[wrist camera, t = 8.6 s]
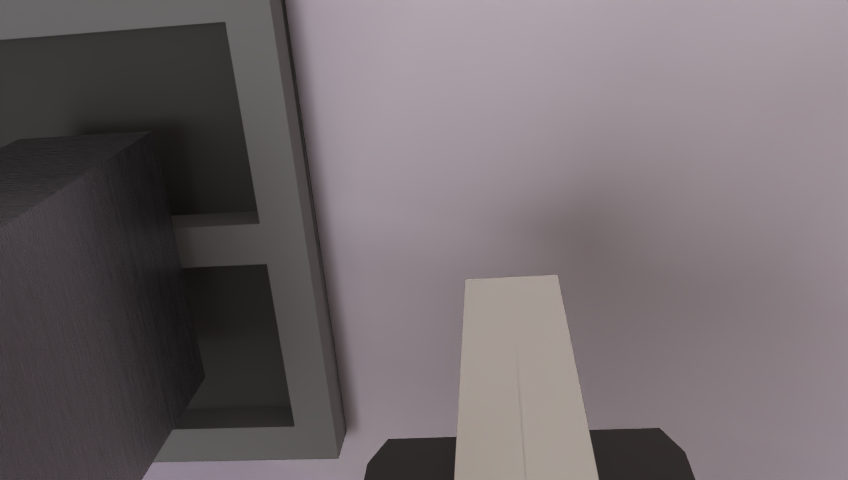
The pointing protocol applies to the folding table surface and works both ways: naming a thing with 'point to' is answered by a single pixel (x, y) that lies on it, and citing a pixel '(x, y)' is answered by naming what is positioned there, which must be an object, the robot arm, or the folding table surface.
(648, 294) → the folding table surface
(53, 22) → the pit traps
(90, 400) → the dark grey block
